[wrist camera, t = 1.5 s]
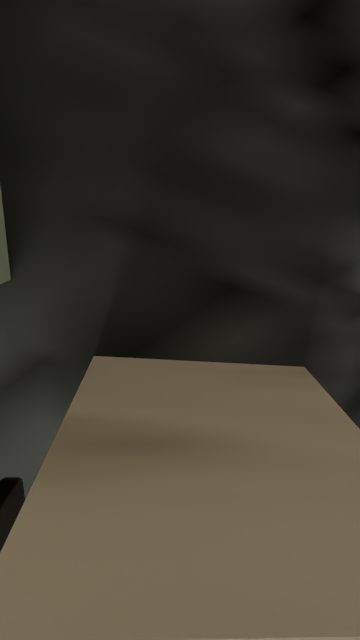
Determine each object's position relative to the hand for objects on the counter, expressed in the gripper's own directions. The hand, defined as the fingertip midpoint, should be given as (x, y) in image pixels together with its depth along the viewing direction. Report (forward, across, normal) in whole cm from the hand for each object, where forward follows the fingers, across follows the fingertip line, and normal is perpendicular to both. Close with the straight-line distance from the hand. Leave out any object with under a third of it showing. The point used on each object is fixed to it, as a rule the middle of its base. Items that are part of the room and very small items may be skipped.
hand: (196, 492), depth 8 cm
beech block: (+2, 0, 0) cm, 2 cm away
